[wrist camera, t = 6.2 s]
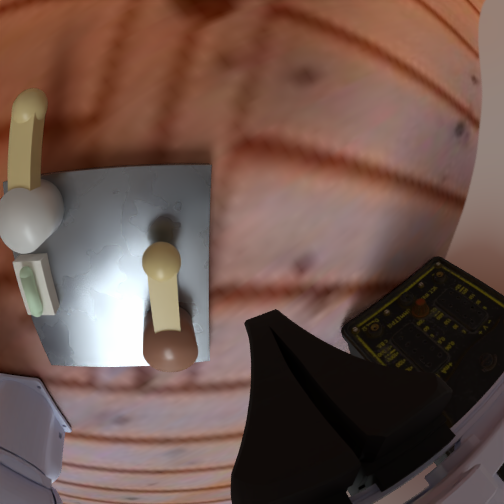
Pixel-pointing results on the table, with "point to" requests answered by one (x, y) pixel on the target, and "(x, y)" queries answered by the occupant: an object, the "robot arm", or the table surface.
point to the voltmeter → (437, 334)
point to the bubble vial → (36, 284)
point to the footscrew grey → (28, 179)
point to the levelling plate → (123, 258)
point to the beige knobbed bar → (166, 313)
